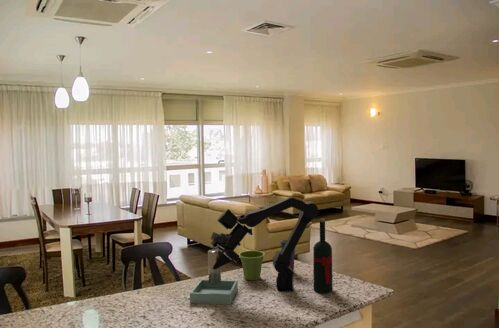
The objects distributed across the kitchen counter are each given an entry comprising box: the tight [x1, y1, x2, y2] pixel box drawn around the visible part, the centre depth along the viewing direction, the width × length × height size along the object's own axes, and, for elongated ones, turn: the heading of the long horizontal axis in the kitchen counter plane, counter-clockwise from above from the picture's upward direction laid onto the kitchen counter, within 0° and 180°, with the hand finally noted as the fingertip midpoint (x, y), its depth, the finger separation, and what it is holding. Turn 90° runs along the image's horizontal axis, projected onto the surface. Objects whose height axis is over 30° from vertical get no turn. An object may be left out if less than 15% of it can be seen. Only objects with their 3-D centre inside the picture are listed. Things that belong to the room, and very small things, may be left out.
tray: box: [189, 279, 239, 305], centre depth 164 cm, size 16×16×4 cm
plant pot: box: [238, 250, 266, 281], centre depth 185 cm, size 12×12×11 cm
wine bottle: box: [312, 218, 333, 295], centre depth 166 cm, size 8×10×30 cm
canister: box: [207, 249, 222, 285], centre depth 163 cm, size 5×5×13 cm
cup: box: [280, 239, 296, 272], centre depth 192 cm, size 7×7×15 cm
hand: (211, 267), depth 163 cm, fingers closed on canister, 5 cm apart
